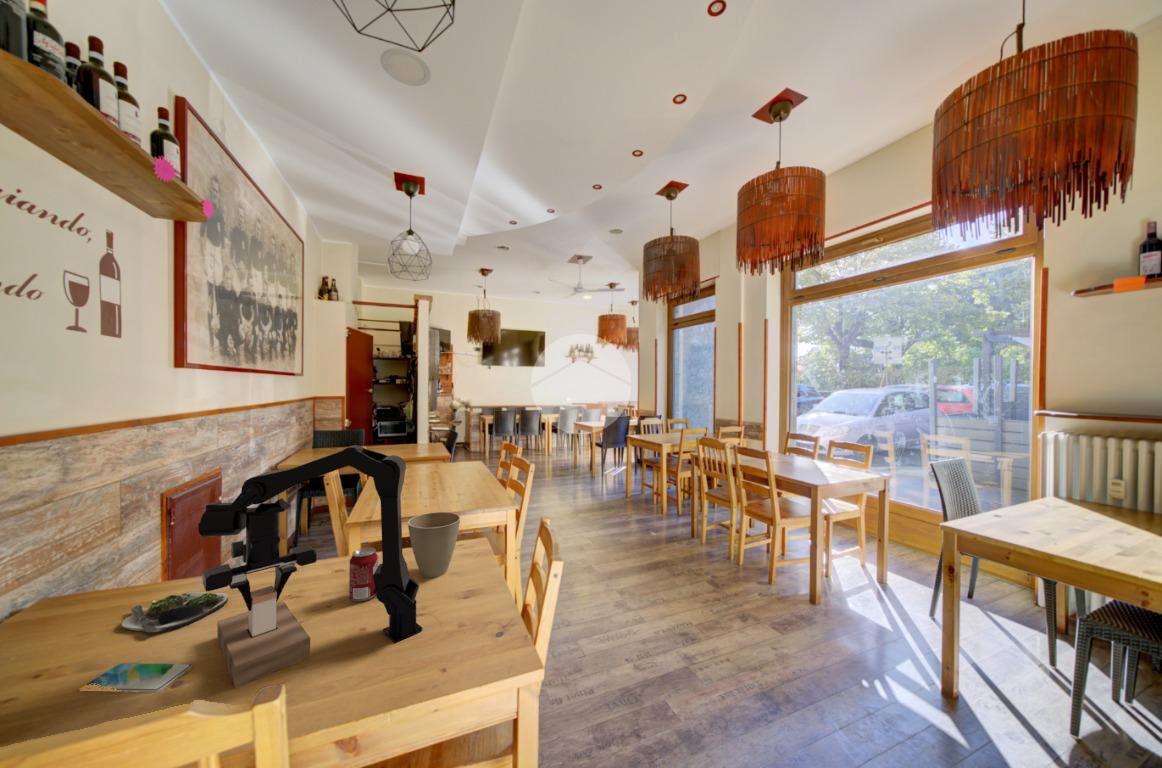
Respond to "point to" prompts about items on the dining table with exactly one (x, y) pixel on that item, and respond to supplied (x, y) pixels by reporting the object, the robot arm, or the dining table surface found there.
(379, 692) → the dining table surface
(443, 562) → the plant pot
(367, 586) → the soda can
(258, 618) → the plug
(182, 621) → the salad plate
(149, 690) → the smartphone
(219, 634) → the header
